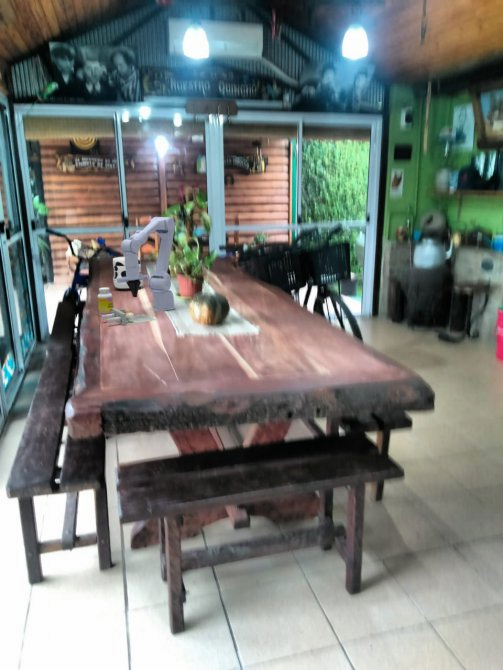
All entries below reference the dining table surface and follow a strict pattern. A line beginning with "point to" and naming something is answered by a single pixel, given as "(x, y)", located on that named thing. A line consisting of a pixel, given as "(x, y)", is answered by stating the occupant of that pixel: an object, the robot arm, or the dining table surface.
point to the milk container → (122, 273)
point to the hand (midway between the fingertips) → (134, 296)
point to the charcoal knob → (111, 315)
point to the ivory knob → (128, 317)
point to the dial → (127, 311)
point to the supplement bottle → (105, 301)
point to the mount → (136, 318)
